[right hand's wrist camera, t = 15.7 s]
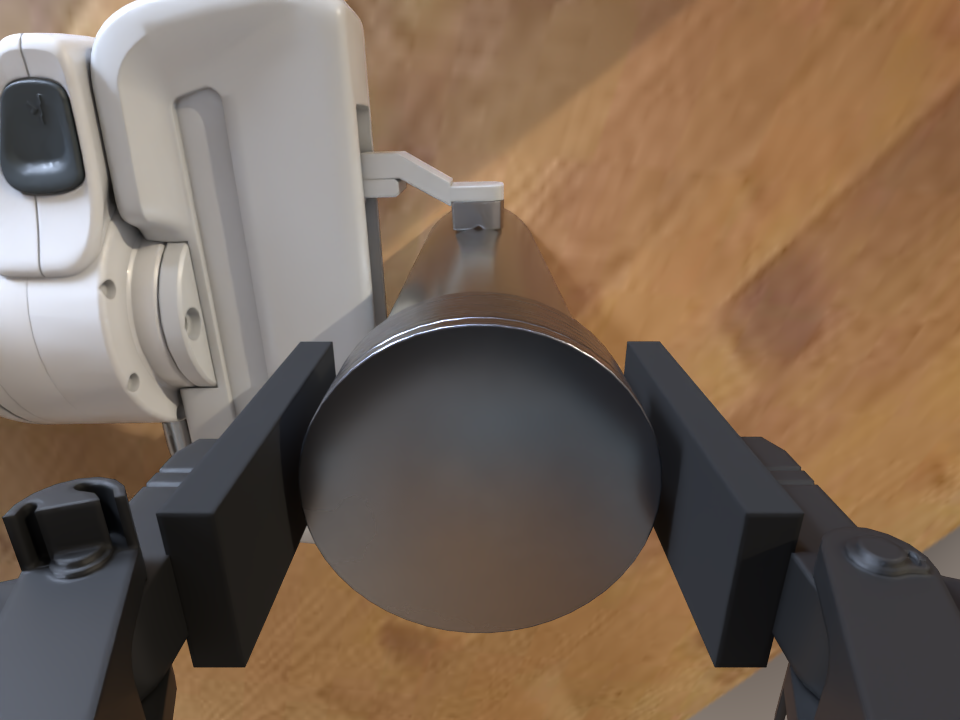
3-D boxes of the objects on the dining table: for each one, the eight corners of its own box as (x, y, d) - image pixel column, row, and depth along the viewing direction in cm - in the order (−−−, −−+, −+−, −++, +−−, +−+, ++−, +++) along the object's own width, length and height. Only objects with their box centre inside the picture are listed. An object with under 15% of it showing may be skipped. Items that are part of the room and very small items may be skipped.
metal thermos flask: (411, 302, 29) (309, 560, 11) (436, 189, 27) (358, 298, 10) (519, 329, 29) (576, 614, 12) (552, 220, 27) (675, 376, 10)
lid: (586, 582, 13) (604, 656, 11) (311, 537, 13) (283, 606, 11) (676, 326, 11) (715, 366, 9) (345, 259, 11) (316, 287, 9)
